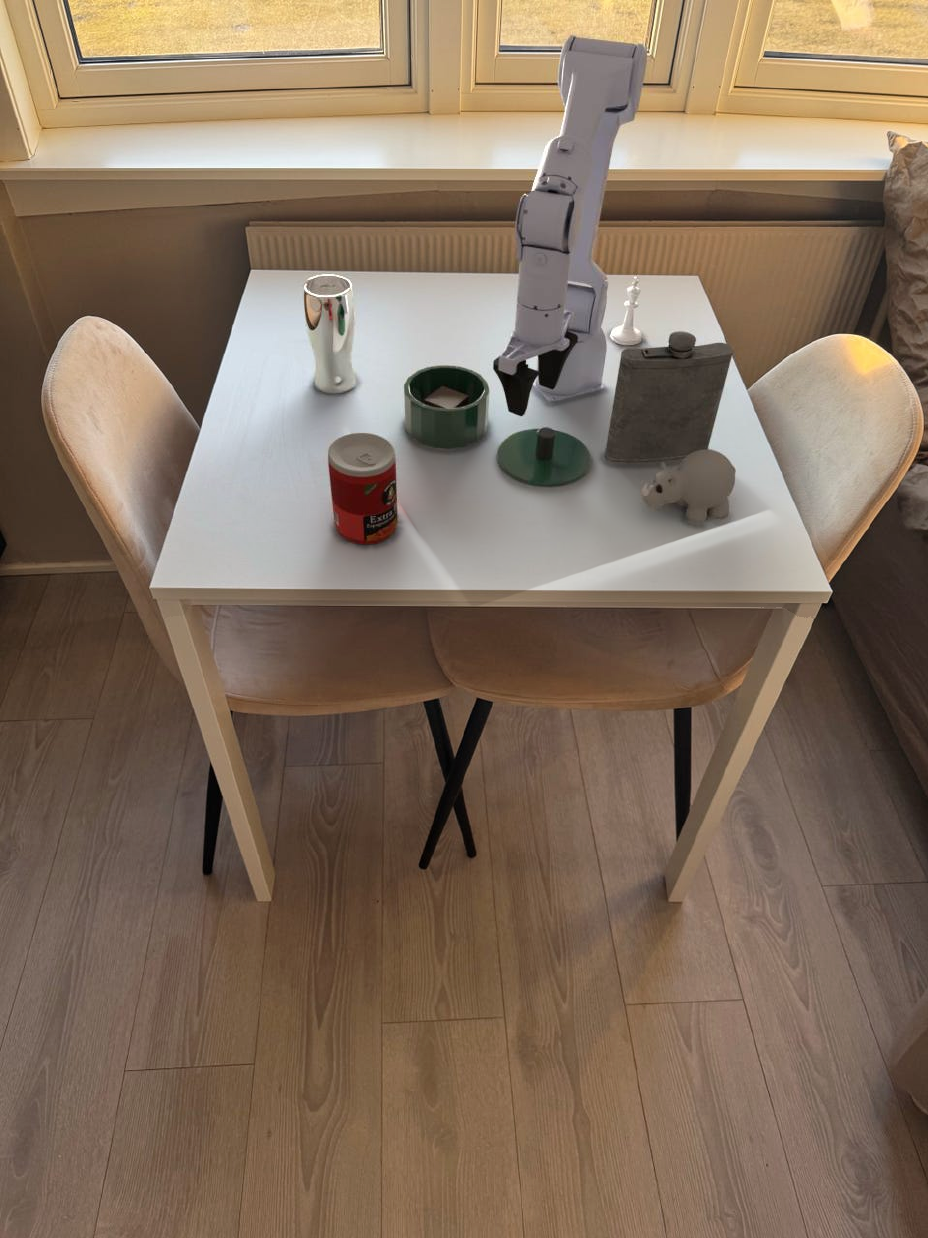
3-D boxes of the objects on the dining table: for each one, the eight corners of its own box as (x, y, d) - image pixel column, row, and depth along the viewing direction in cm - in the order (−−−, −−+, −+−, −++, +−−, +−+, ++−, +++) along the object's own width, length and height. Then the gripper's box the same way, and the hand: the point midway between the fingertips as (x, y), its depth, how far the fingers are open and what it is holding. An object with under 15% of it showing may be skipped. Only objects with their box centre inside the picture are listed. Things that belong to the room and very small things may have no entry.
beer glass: (351, 398, 134) (344, 300, 123) (305, 392, 134) (294, 294, 124) (364, 373, 138) (359, 277, 128) (319, 367, 139) (310, 271, 128)
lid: (559, 426, 130) (563, 397, 127) (607, 475, 122) (612, 446, 119) (481, 447, 126) (482, 418, 123) (525, 500, 118) (527, 470, 115)
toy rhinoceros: (624, 501, 119) (635, 446, 112) (710, 488, 121) (725, 434, 115) (646, 537, 114) (658, 482, 108) (735, 523, 116) (752, 468, 110)
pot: (464, 397, 134) (465, 357, 130) (501, 439, 127) (504, 399, 123) (392, 415, 131) (390, 375, 126) (426, 460, 124) (425, 419, 119)
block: (442, 412, 131) (442, 385, 128) (467, 423, 129) (468, 395, 126) (423, 427, 128) (423, 399, 125) (450, 437, 127) (450, 410, 124)
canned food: (374, 554, 110) (370, 480, 102) (321, 530, 113) (312, 456, 105) (410, 520, 115) (409, 446, 107) (358, 497, 118) (353, 424, 110)
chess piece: (646, 335, 148) (657, 275, 141) (633, 348, 146) (643, 287, 138) (618, 326, 150) (628, 267, 143) (605, 339, 147) (614, 279, 140)
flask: (711, 461, 125) (743, 339, 112) (609, 469, 123) (630, 347, 110) (702, 445, 128) (732, 325, 115) (601, 453, 126) (621, 331, 113)
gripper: (538, 333, 103) (529, 436, 113) (600, 285, 112) (586, 384, 121) (485, 315, 106) (481, 416, 115) (550, 269, 114) (540, 367, 124)
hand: (532, 399), depth 119 cm, fingers open, 7 cm apart
